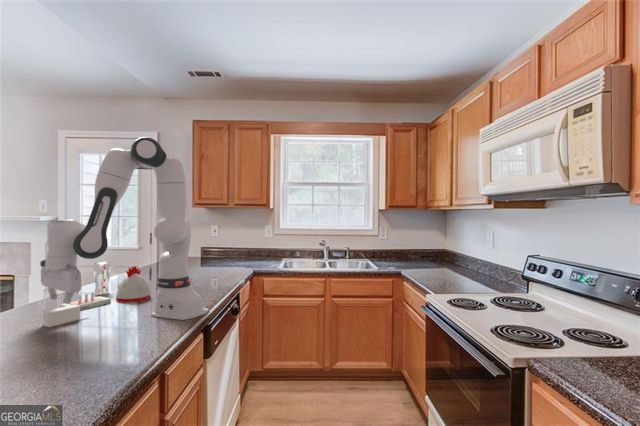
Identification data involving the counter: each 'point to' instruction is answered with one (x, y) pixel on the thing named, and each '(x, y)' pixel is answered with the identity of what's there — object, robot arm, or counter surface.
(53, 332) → the counter surface
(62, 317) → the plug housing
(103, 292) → the beer glass
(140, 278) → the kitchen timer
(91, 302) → the green peg board
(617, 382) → the counter surface
